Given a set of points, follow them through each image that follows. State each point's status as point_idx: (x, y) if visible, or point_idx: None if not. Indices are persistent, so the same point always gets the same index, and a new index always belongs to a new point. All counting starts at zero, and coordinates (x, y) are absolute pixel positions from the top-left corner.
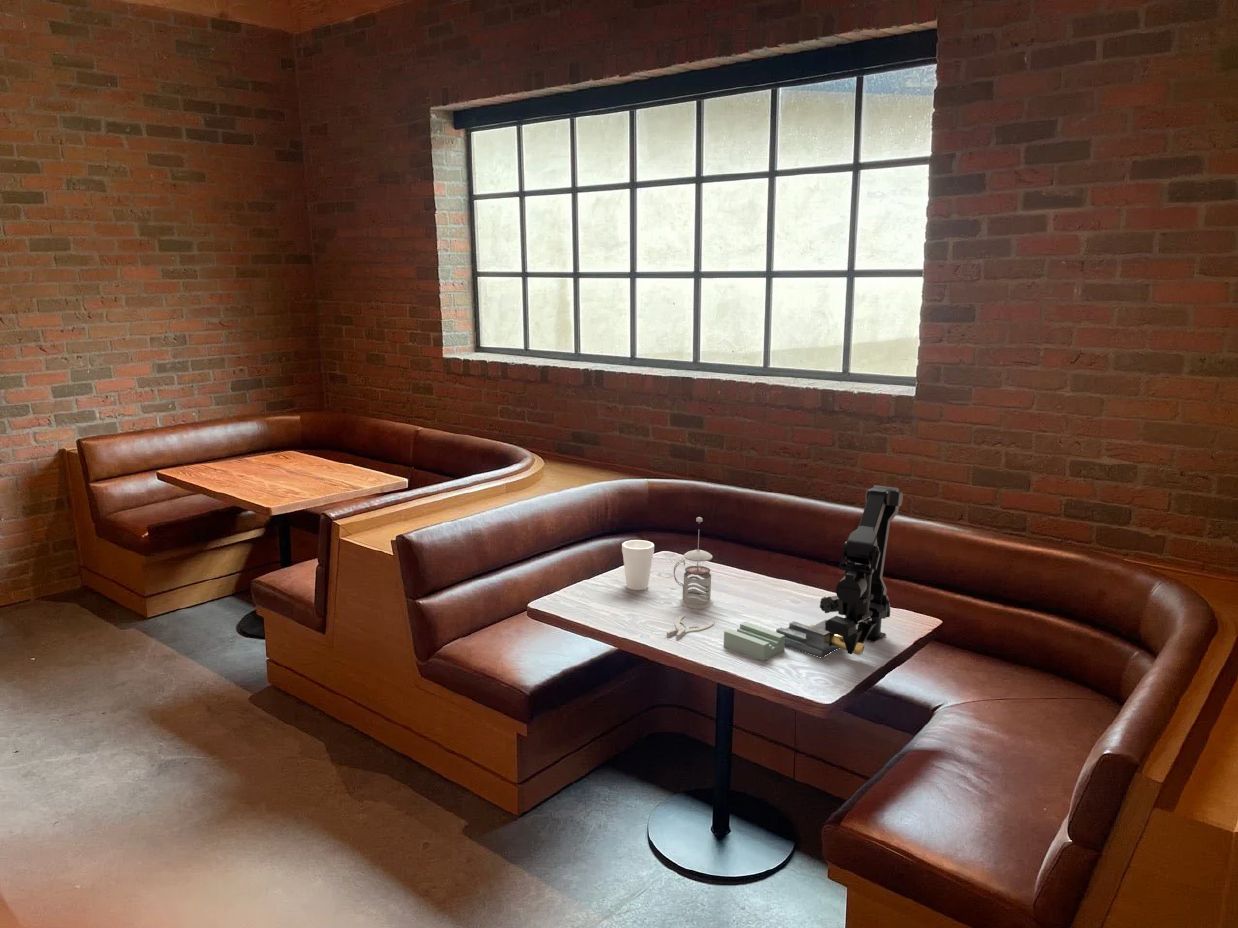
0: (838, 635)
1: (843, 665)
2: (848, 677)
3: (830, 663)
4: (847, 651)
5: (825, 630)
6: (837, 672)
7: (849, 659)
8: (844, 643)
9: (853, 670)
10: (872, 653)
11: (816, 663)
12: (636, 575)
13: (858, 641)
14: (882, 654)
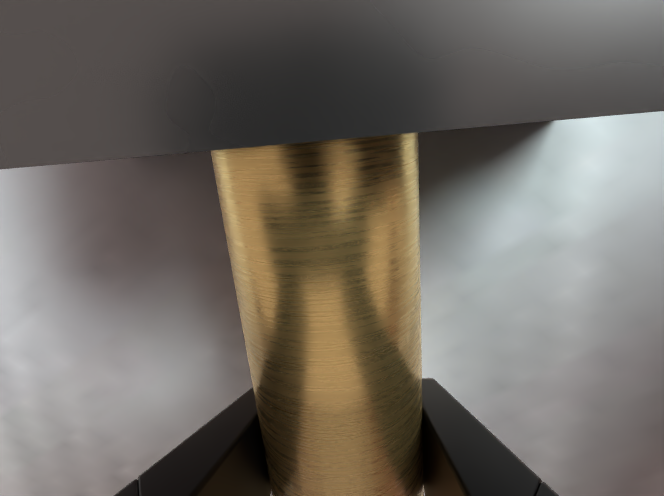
0: (293, 258)
1: (186, 359)
2: (65, 476)
3: (123, 270)
4: (249, 392)
5: (57, 11)
6: (53, 393)
7: None
8: (254, 377)
9: None
10: (605, 392)
11: (14, 191)
12: None
13: (433, 494)
14: (645, 454)
